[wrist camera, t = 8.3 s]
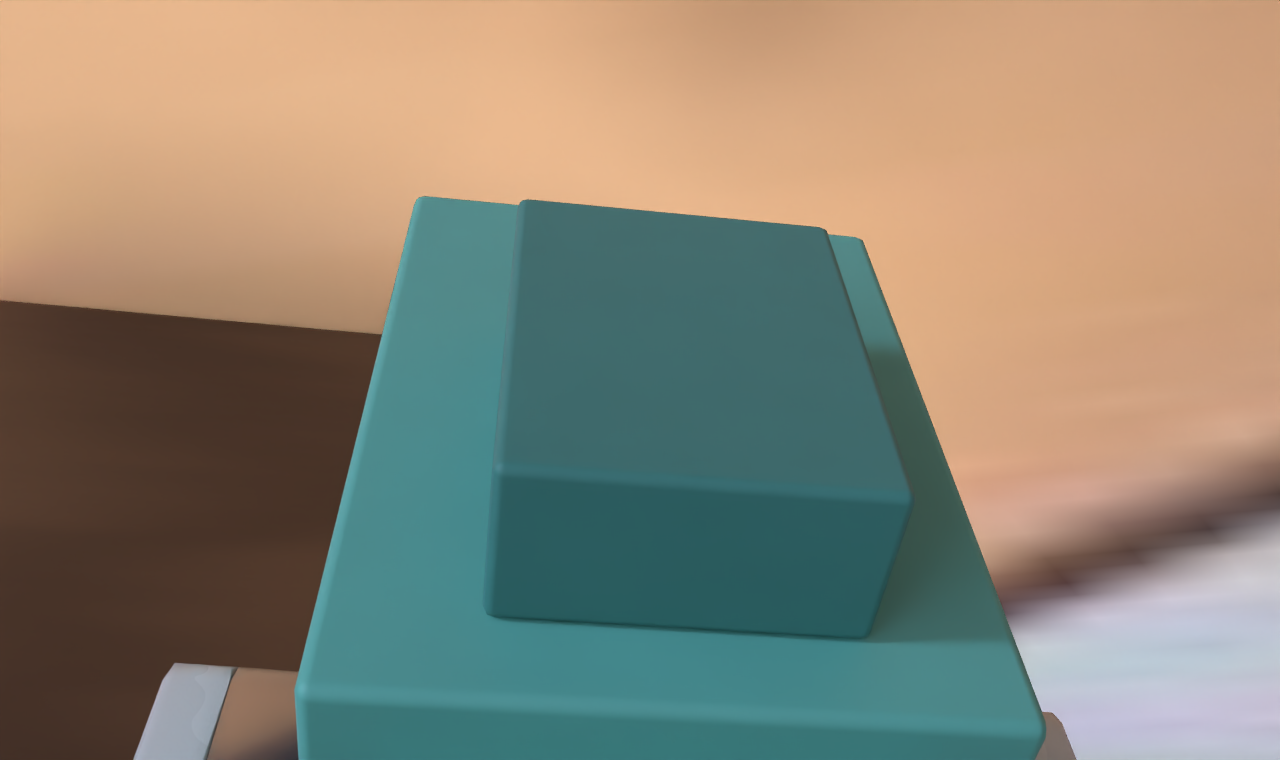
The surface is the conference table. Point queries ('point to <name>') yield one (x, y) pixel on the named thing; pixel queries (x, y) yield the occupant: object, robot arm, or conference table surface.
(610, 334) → the toy robot
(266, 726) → the robot arm
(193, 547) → the shelf
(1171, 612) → the conference table surface
